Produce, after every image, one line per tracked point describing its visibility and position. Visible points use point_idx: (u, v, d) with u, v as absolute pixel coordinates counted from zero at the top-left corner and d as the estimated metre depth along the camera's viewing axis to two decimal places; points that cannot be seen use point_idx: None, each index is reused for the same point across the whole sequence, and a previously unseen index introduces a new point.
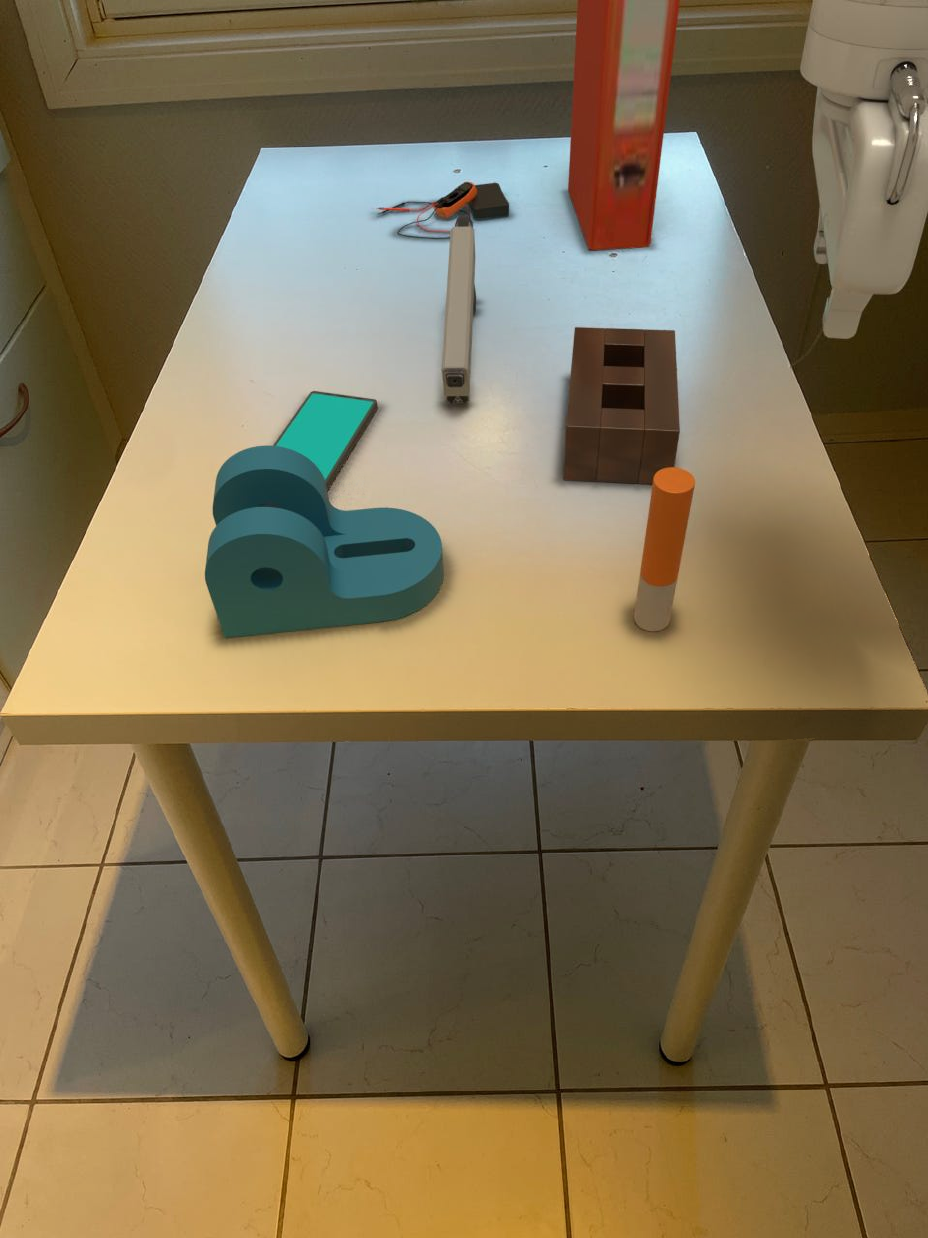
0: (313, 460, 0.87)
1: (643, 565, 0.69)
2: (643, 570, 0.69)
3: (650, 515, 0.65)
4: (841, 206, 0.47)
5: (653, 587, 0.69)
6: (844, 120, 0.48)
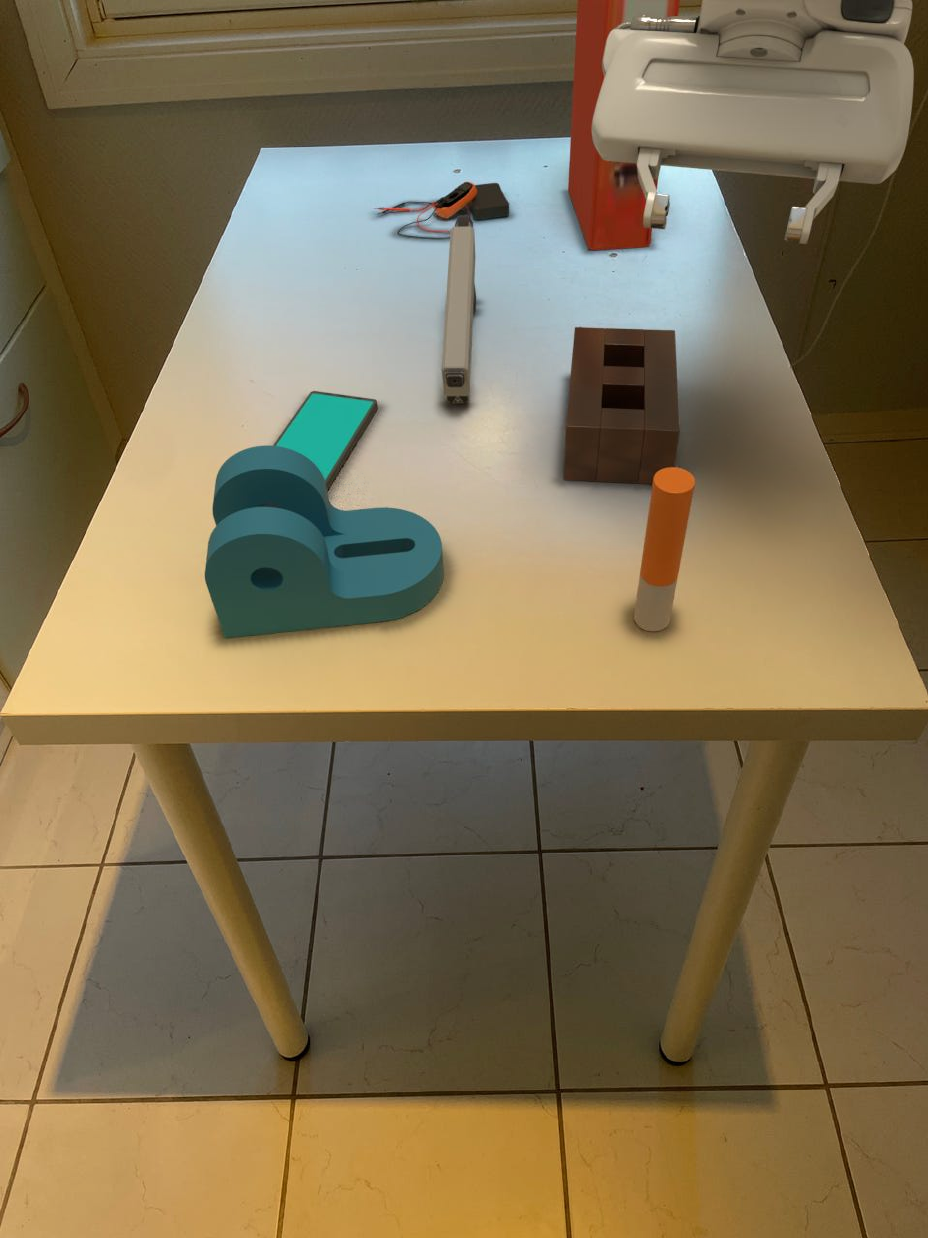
0: (313, 460, 0.87)
1: (643, 565, 0.69)
2: (643, 570, 0.69)
3: (650, 515, 0.65)
4: None
5: (653, 587, 0.69)
6: None
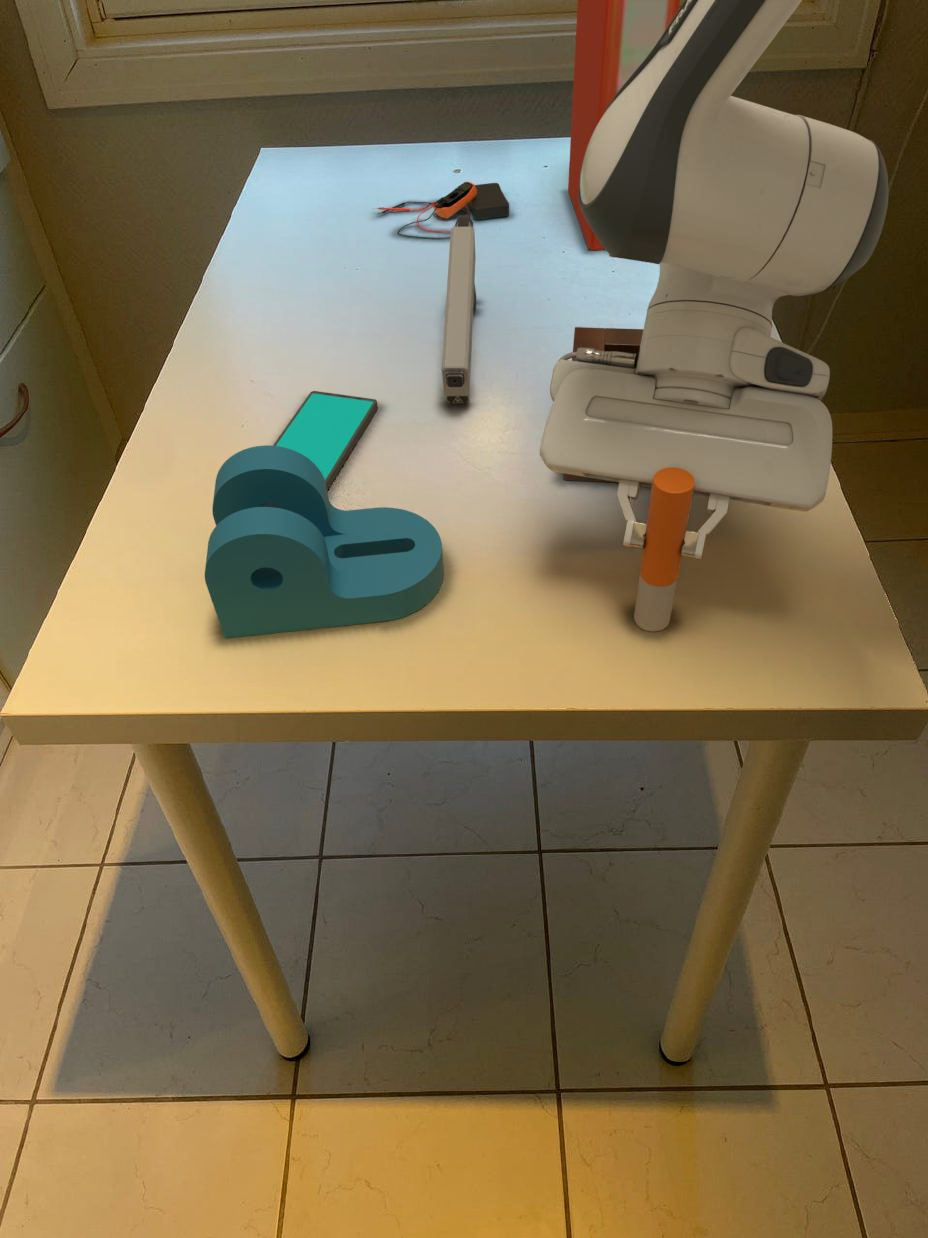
0: (313, 460, 0.87)
1: (643, 565, 0.69)
2: (643, 570, 0.69)
3: (650, 515, 0.65)
4: None
5: (653, 587, 0.69)
6: None
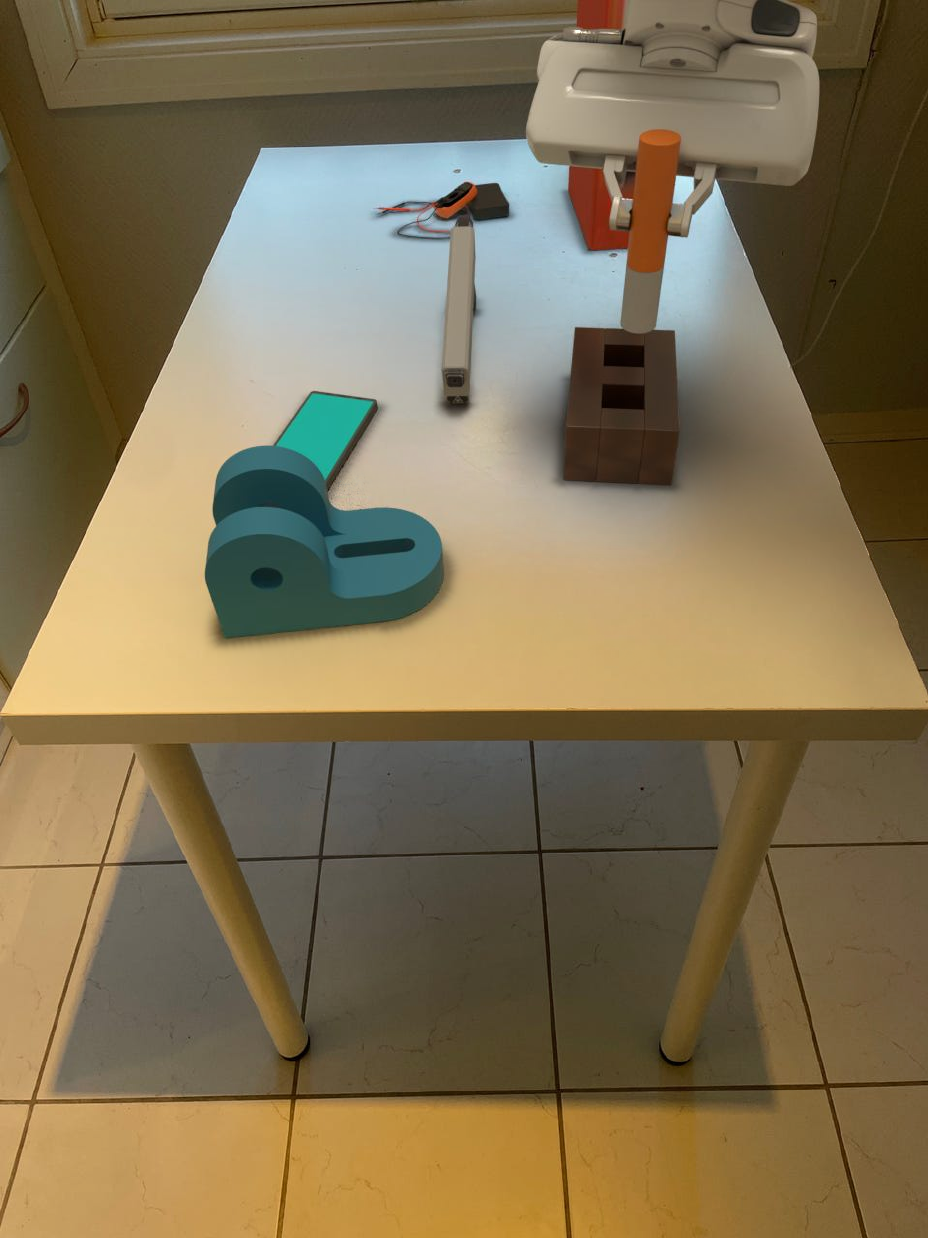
0: (313, 460, 0.87)
1: (629, 250, 0.68)
2: (629, 255, 0.69)
3: (636, 182, 0.65)
4: None
5: (639, 274, 0.69)
6: None
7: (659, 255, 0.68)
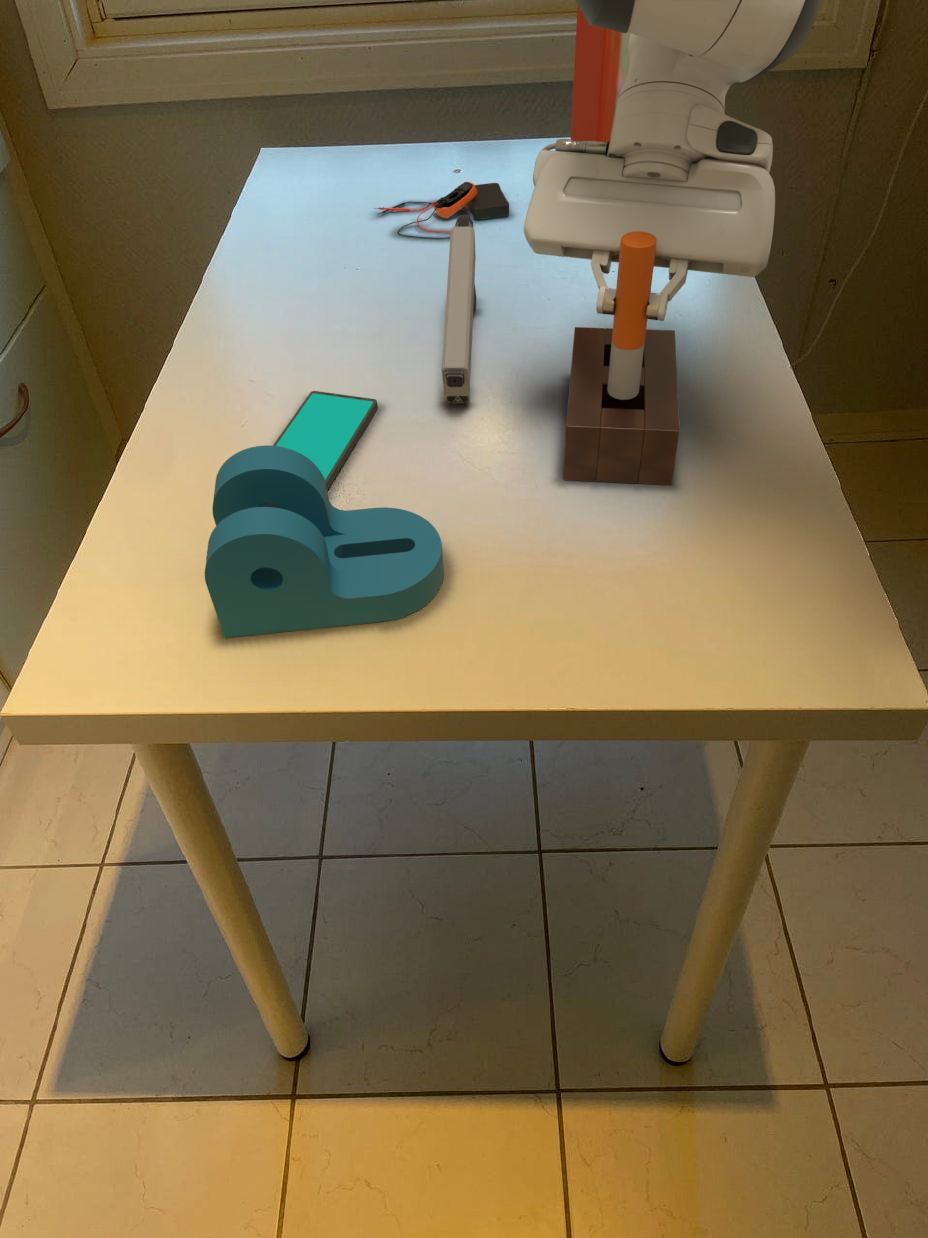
0: (313, 460, 0.87)
1: (614, 330, 0.79)
2: (614, 335, 0.79)
3: (619, 276, 0.75)
4: None
5: (623, 351, 0.79)
6: None
7: (640, 335, 0.78)
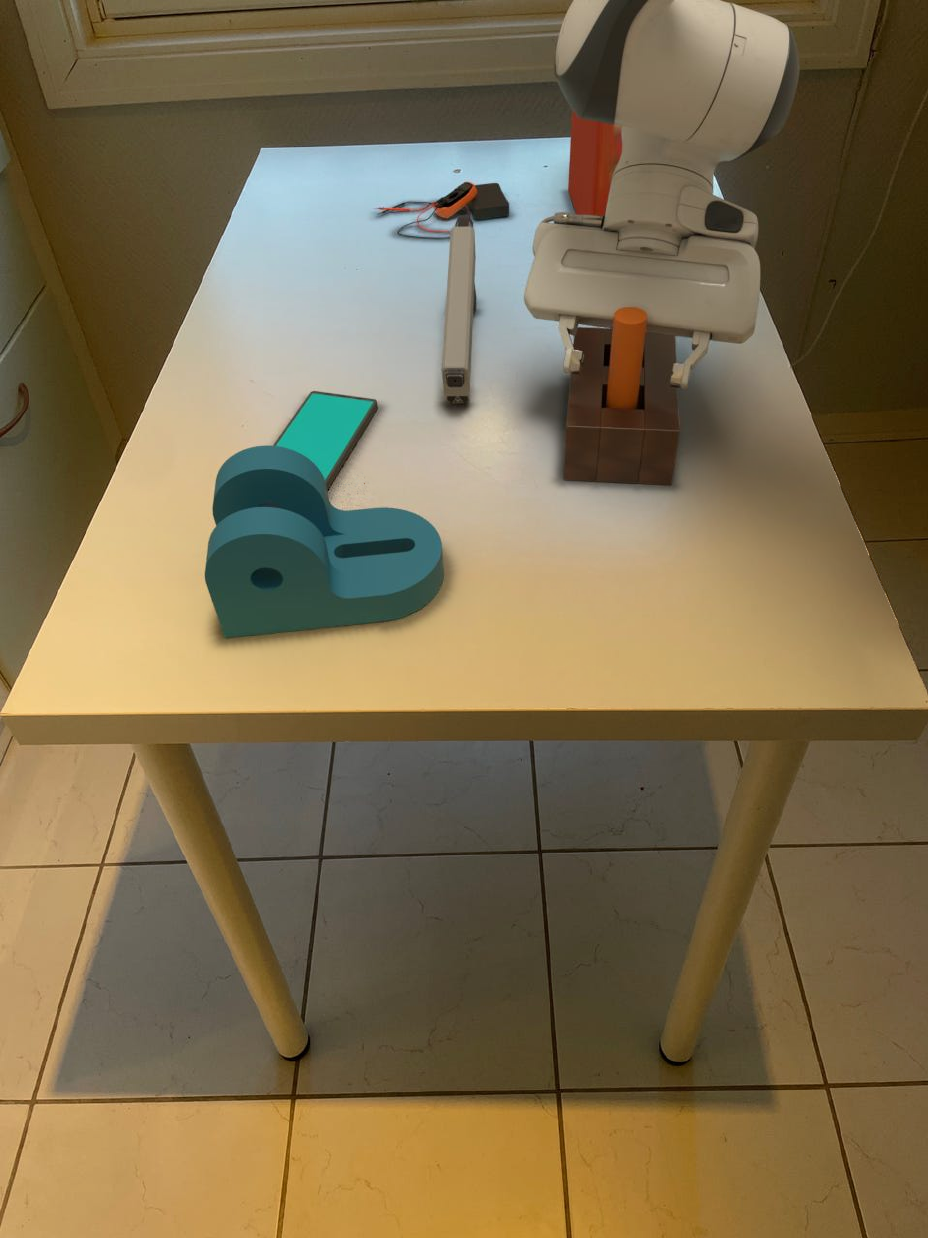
0: (313, 460, 0.87)
1: (608, 396, 0.83)
2: (608, 400, 0.84)
3: (612, 348, 0.80)
4: None
5: None
6: None
7: (632, 401, 0.83)
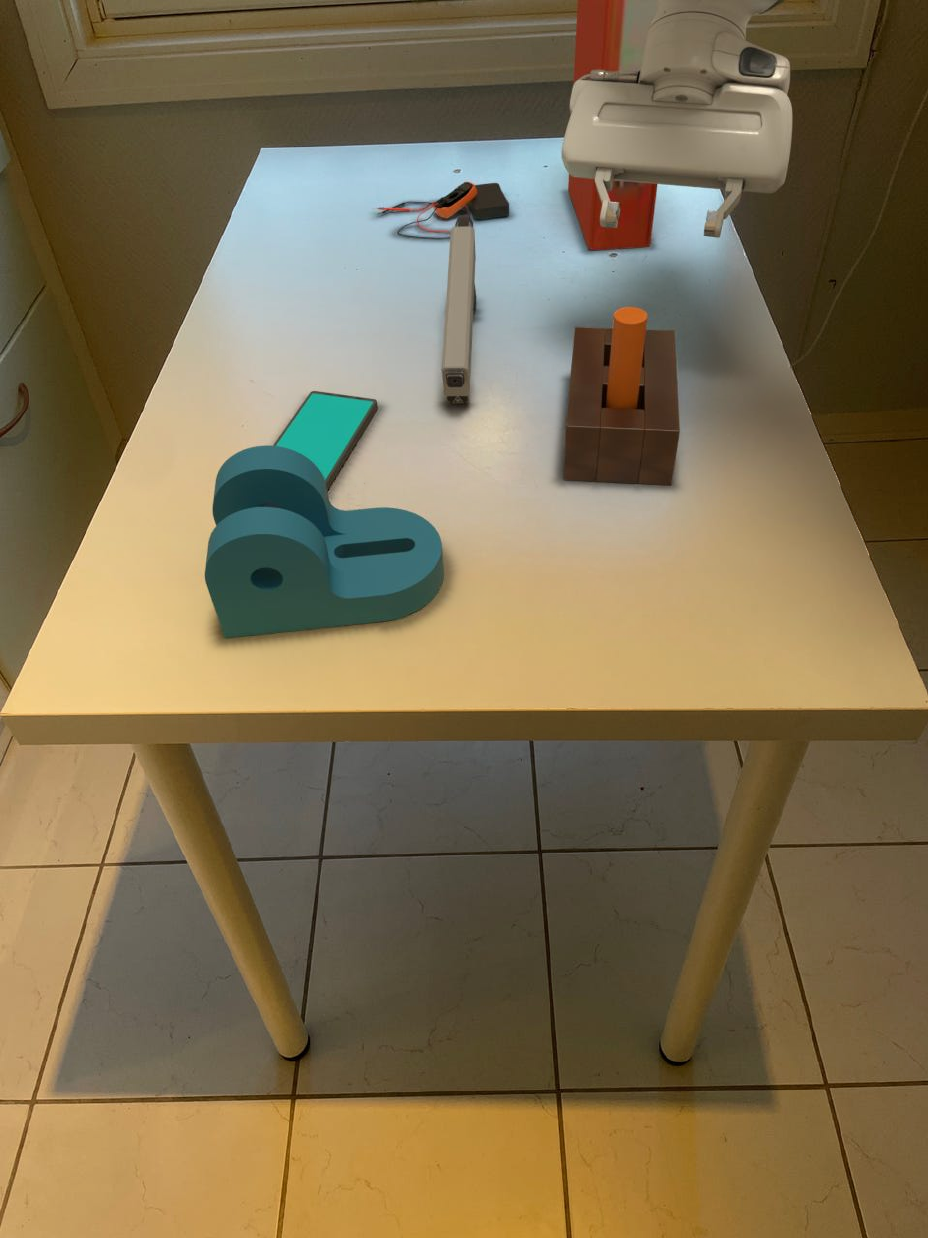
0: (313, 460, 0.87)
1: (608, 396, 0.83)
2: (608, 400, 0.84)
3: (612, 348, 0.80)
4: None
5: None
6: None
7: (632, 401, 0.83)
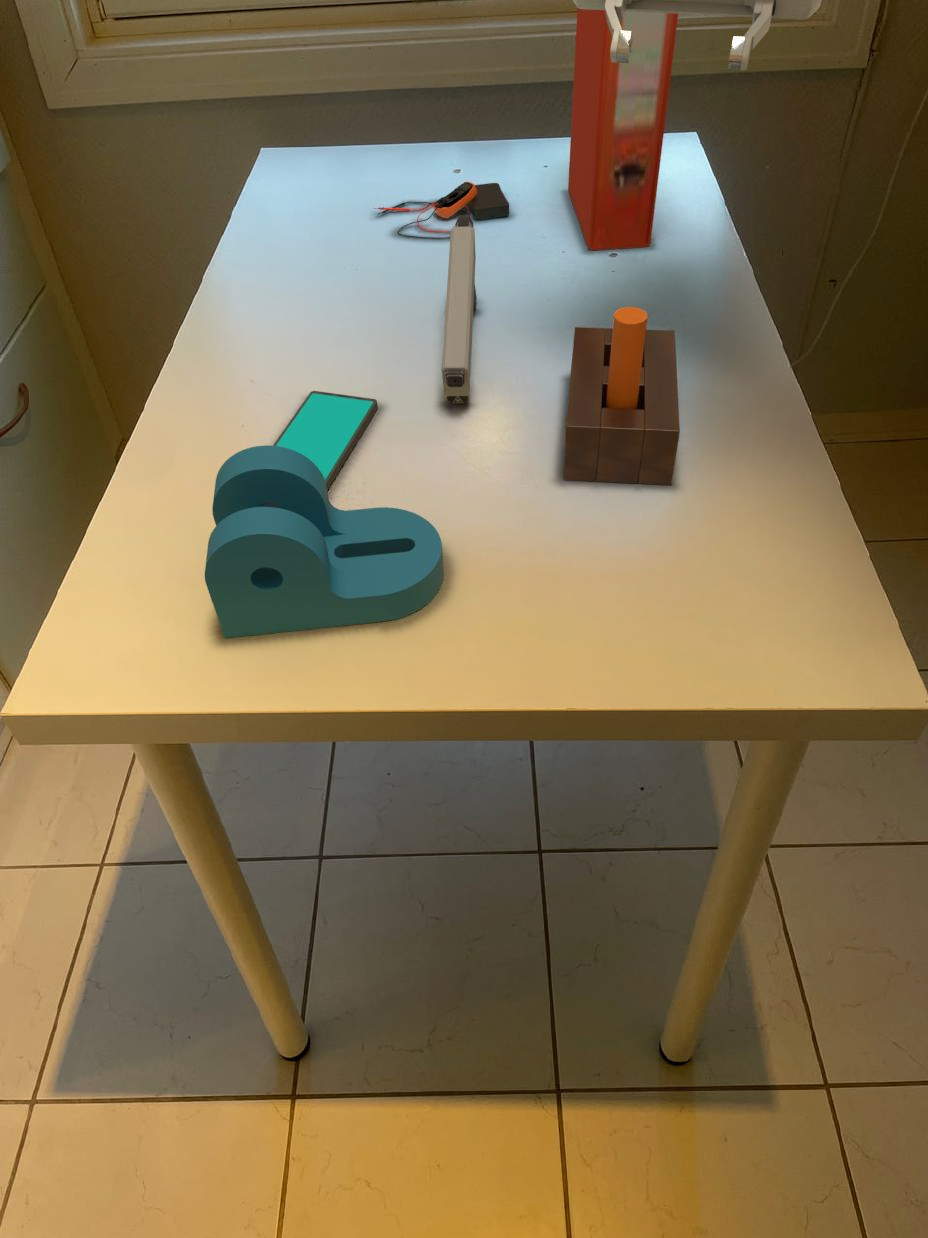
0: (313, 460, 0.87)
1: (608, 396, 0.83)
2: (608, 400, 0.84)
3: (612, 348, 0.80)
4: None
5: None
6: None
7: (632, 401, 0.83)
